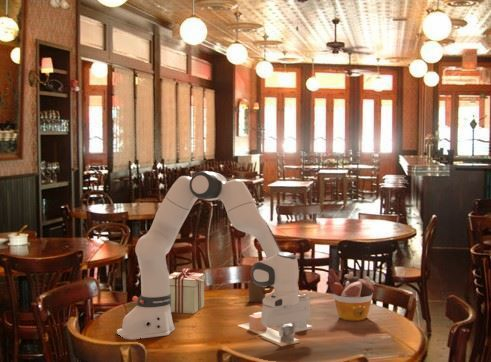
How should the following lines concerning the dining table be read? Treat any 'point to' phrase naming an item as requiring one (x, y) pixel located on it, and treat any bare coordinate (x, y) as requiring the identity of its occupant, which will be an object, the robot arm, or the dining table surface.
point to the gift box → (186, 291)
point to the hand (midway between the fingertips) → (287, 335)
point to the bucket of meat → (352, 296)
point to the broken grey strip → (300, 327)
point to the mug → (257, 292)
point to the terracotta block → (256, 322)
